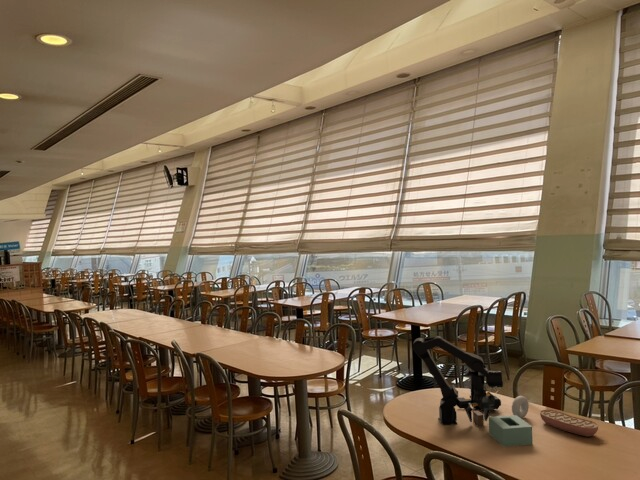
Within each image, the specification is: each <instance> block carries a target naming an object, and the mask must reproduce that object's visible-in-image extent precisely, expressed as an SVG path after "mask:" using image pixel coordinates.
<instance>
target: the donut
mask: <svg viewBox="0 0 640 480" xmlns="http://www.w3.org/2000/svg"><path fill="white" fill-rule="evenodd" d="M529 408H530V407H529V401H528V399H527V398H526V397H525V396H523V395H518V396H516V397H515V398H514V399H513V402H512V405H511V412H512V415H517V416H518V417H520V418H521V419H522V420H523V419H524V418H525V417H526V416H527V414H528V412H529Z"/></svg>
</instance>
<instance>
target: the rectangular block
mask: <svg viewBox="0 0 640 480" xmlns="http://www.w3.org/2000/svg"><path fill="white" fill-rule="evenodd" d="M484 421H485V419H484V413H482V412H480V410H473V411H472V422H473V424H474V423H475V425H476V426H477V428H480V427H481V428H482V426H483V427H484V425H485V422H484Z"/></svg>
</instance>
